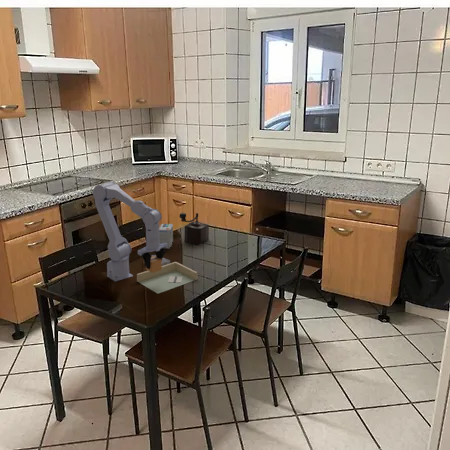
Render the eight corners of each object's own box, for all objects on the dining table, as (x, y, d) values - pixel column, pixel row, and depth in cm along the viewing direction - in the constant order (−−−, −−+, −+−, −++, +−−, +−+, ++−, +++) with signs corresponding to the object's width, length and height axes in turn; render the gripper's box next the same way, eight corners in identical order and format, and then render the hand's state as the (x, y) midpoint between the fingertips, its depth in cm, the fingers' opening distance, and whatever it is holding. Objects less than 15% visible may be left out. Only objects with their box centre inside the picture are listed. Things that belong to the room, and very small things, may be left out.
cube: (152, 272, 193) (152, 262, 192) (145, 269, 197) (145, 258, 195) (161, 269, 196) (161, 259, 195) (155, 266, 200) (154, 255, 198)
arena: (157, 294, 189) (157, 286, 187) (137, 282, 200) (136, 274, 198) (197, 280, 203) (197, 272, 202) (176, 269, 214) (175, 261, 213)
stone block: (158, 262, 226) (142, 264, 219) (159, 253, 225) (143, 254, 218) (172, 270, 219) (156, 272, 211) (174, 261, 218) (158, 262, 210)
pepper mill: (193, 236, 260) (193, 206, 254) (209, 239, 255) (209, 209, 249) (177, 244, 247) (177, 213, 241) (194, 248, 242) (194, 216, 236)
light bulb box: (161, 241, 250) (161, 223, 247) (173, 241, 250) (173, 223, 247) (158, 248, 240) (157, 229, 237) (170, 248, 240) (170, 229, 237)
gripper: (143, 243, 184) (144, 273, 189) (171, 236, 194) (172, 264, 198) (134, 239, 189) (135, 268, 193) (162, 232, 199) (162, 260, 203)
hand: (153, 266), depth 196 cm, fingers closed on cube, 5 cm apart
